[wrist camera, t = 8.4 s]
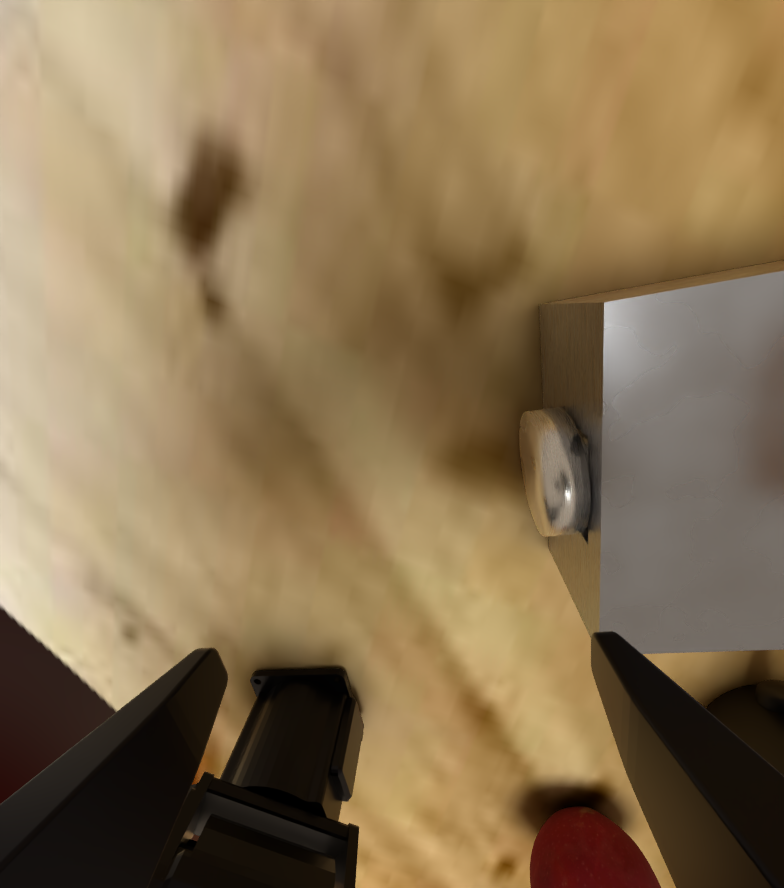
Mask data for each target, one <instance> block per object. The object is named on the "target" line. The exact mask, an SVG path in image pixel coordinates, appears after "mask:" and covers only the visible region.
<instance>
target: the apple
mask: <svg viewBox="0 0 784 888" xmlns="http://www.w3.org/2000/svg"><path fill="white" fill-rule="evenodd" d="M530 883H531V888H661V886H660V884H659V882H658V880H657V878H656V876H655V874H654V872H653V870H652V868H651V866H650V864H649V863H648V861H647V859H646V858H645V856H644V855H643V853H642V852H641V850H640V849H639V847H638V846H637V845H636V843H635V842H634V841H633V840H632V839H631V838H630V837H629V836H628V835H627V834H626V833H625V832H624V831H623V830H622V829H621V828H620V827H619V826H618V825H616V824H615V823H614V822H613V821H611V820H610V819H608V818H607V817H605V816H604V815H602V814H601V813H599V812H597V811H595V810H593V809H591V808H588V807H582V806H580V807H568V808H564V809H561V810H559V811H557V812H555V813H554V814H553V815H552V816H550V817H549V818H548V819H547V821H546V822H545V823H544V825H543V826H542V827H541V829H540V831H539V833H538V835H537V837H536V839H535V842H534V846H533V849H532V854H531V862H530Z"/></svg>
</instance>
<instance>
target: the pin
mask: <svg viewBox="0 0 784 888" xmlns="http://www.w3.org/2000/svg"><path fill="white" fill-rule="evenodd" d="M519 447H520V460H521V468H522V475H523V481H524V487H525V492H526V496H527V500H528V504H529V508H530V511H531V515H532V517H533V520H534V523H535V525H536V527H537V529H538V531H539V532H540V534H541V535H542V536H544V537H548V536H560V535H572V534H581V533H583V532H584V531H585V529H586V527H587V525H588V521H589V516H590V505H591V493H590V480H589V472H588V437H587V436H586V435H585V434H583V433H582V432H581V431H580V430H579V429H578V428H576V426H575V423H574V421H573V420H572V418H571V416H570V415H569V413H568V412H567V411H566V410H565V409H563V408H562V407H555V408H548V409H541V410H533V411H526V412H524V413H523V414H522V417H521V421H520V429H519Z"/></svg>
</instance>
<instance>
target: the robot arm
mask: <svg viewBox="0 0 784 888" xmlns="http://www.w3.org/2000/svg"><path fill="white" fill-rule="evenodd" d="M591 667H592V672H593V676H594V679H595V682H596V685H597V688H598V691H599V694H600V697H601V700H602V703H603V706H604V709H605V712H606V715H607V718H608V721H609V724H610V727H611V730H612V733H613V736H614V738H615V741H616V744H617V747H618V750H619V753H620V756H621V759H622V762H623V765H624V768H625V770H626V773H627V776H628V778H629V780H630V783H631V785H632V788H633V790H634V792H635V795H636V797H637V799H638V802H639V804H640V806H641V808H642V811H643V813H644V815H645V817H646V820H647V822H648V824H649V827H650V829H651V831H652V833H653V836H654V838H655V840H656V843H657V845H658V847H659V849H660V852H661V854H662V856H663V859H664V861H665V863H666V865H667V868H668V870H669V872H670V874H671V877H672V879H673V881H674V884H675V886H676V888H784V776H783V775H782V774H781V773H780V772H779V771H778V770H776V769H775V768H774V767H773V766H772V765H771V764H769V763H768V762H767V761H766V760H765V759H764V758H762V757H761V756H760V755H759V754H758V753H757V752H755V751H754V750H753V749H752V748H751V747H750V746H748V745H747V744H746V743H745V742H744V741H743V740H741V739H740V738H739V737H738V736H737V735H736V734H735V733H733V732H732V731H731V730H730V729H729V728H728V727H726V726H725V725H724V724H723V723H722V722H721V721H719V720H718V719H717V718H716V717H715V716H714V715H712V714H711V713H710V712H709V711H708V710H707V709H705V708H704V707H703V706H702V705H701V704H700V703H698V702H697V701H696V700H695V699H694V698H693V697H691V696H690V695H689V694H688V693H687V692H686V691H684V690H683V689H682V688H681V687H680V686H679V685H677V684H676V683H675V682H674V681H673V680H672V679H670V678H669V677H668V676H667V675H666V674H665V673H663V672H662V671H661V670H660V669H659V668H658V667H656V666H655V665H654V664H653V663H652V662H651V661H649V660H648V659H647V658H646V657H645V656H644V655H642V654H641V653H640V652H639V651H638V650H637V649H635V648H634V647H633V646H632V645H631V644H630V643H628V642H627V641H626V640H625V639H624V638H623V637H621V636H620V635H619V634H618V633H616V632H613V631H606V632H594V633H593V634H592V636H591ZM227 681H228V674H227V671H226V669H225V666H224V664H223V662H222V660H221V657H220V655H219V653H218V651H217V650H216V649H215V648H199V649H196V650H194V651H193V652H192V653H190V654H189V655H188V656H187V657H185V658H184V659H183V660H182V661H180V662H179V663H178V664H177V665H175V666H174V667H173V668H172V669H170V670H169V671H168V672H167V673H165V674H164V675H163V676H161V677H160V678H159V679H158V680H156V681H155V682H154V683H153V684H151V685H150V686H149V687H148V688H146V689H145V690H144V691H143V692H141V693H140V694H139V695H138V696H136V697H135V698H134V699H133V700H131V701H130V702H129V703H127V704H126V705H125V706H124V707H122V708H121V709H120V710H119V711H117V712H116V713H115V714H114V715H113V716H111V717H110V718H109V719H107V720H106V721H105V722H104V723H102V724H101V725H100V726H98V727H97V728H96V729H95V730H94V731H92V732H91V733H90V734H89V735H87V736H86V737H85V738H83V739H82V740H81V741H80V742H79V743H77V744H76V745H75V746H74V747H72V748H71V749H70V750H68V751H67V752H66V753H64V754H63V755H62V756H61V757H60V758H58V759H57V760H56V761H54V762H53V763H52V764H51V765H49V766H48V767H47V768H46V769H45V770H43V771H42V772H41V773H39V774H38V775H37V776H35V777H34V778H33V779H32V780H31V781H29V782H28V783H27V784H25V785H24V786H23V787H22V788H20V789H19V790H18V791H17V792H15V793H14V794H13V795H12V796H10V797H9V798H8V799H7V800H5V801H4V802H3V803H1V804H0V888H355V879H356V865H357V850H358V835H359V826H356V825H353V824H351V823H349V824H348V825H346V824H344V823H341V822H338V820H339V815H340V809H341V804H342V801H349V799H350V798H351V797H352V792H353V786H354V781H355V775H356V769H357V763H358V757H359V751H360V745H361V741H362V738H363V728H364V724H363V721H362V717H361V714H360V711H359V707H358V704H357V701H356V699H355V698H354V697H353V695H352V692H351V688H350V685H349V682H348V678H347V675H346V673H345V671H343V670H342V669H338V668H334V669H299V670H264V671H255V672H254V673H253V675H252V677H251V679H250V681H251V684H252V686H253V689H254V691H255V694H256V696H257V699H256V701H255V703H254V705H253V707H252V710H251V712H250V714H249V716H248V718H247V721H246V723H245V725H244V727H243V729H242V732H241V734H240V736H239V738H238V740H237V742H236V745H235V747H234V749H233V751H232V753H231V756H230V758H229V760H228V762H227V764H226V767H225V769H224V771H223V773H222V775H221V778H220V779H218V778H215V777H214V774H211V773H208V772H204V774H203V776H202V777H201V779H200V781H199V783H197V784H194V785H192V782H193V780H194V778H195V775H196V773H197V770H198V768H199V765H200V762H201V760H202V757H203V754H204V751H205V748H206V745H207V742H208V740H209V737H210V734H211V731H212V728H213V725H214V722H215V719H216V716H217V713H218V710H219V707H220V704H221V701H222V698H223V695H224V692H225V689H226V686H227ZM193 834H195V835H198V836H200V837H199V839H198V841H194V840H191V839H192V837H193Z"/></svg>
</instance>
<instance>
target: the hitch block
mask: <svg viewBox="0 0 784 888" xmlns="http://www.w3.org/2000/svg"><path fill="white" fill-rule="evenodd" d="M539 319H540V343H541V368H542V392H543V409H548V408H555V407H562V408H563V409H565V410H566V411H567V412H568V413H569V415H570V416H571V418H572V420H573V421H574V423H575V426H576V428H578V429H579V430H580V431H581V432H582V433H583V434H585V435H586V436H587V437H588V472H589V480H590V493H591V505H590V516H589V521H588V525H587V527H586V529H585V531H584V532H583V533H581V534H572V535H560V536H548V538H549V550H550V552H551V554H552V556H553V559H554V561H555V563H556V565H557V567H558V569H559V571H560V573H561V576H562V578H563V580H564V582H565V584H566V586H567V588H568V590H569V592H570V595H571V597H572V599H573V601H574V603H575V605H576V607H577V609H578V612H579V614H580V616H581V618H582V620H583V622H584V624H585V626H586V629H587V631H588V633H589V635H590V637H591V636H592V634H593V633H594V632H606V631H613V632H616V633H618V634H619V635H620V636H621V637H623V638H624V639H625V640H626V641H627V642H628V643H630V644H631V645H632V646H633V647H634V648H635V649H637V650H638V651H639V652H640V653H641V654H652V653H685V652H717V651H750V650H782V649H784V260H780V261H775V262H769V263H764V264H758V265H753V266H747V267H742V268H736V269H731V270H725V271H720V272H714V273H709V274H703V275H698V276H692V277H686V278H681V279H675V280H670V281H664V282H659V283H653V284H648V285H642V286H637V287H631V288H626V289H620V290H615V291H609V292H604V293H598V294H593V295H587V296H582V297H576V298H570V299H565V300H559V301H554V302H548V303H543V304H539Z"/></svg>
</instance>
